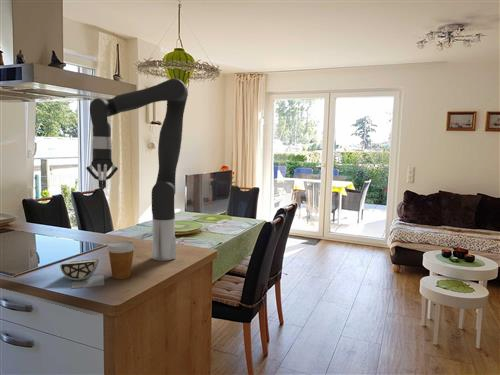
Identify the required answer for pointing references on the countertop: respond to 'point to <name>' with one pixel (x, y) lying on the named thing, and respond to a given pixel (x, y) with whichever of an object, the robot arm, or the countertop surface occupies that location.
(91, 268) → the food container
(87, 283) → the mat
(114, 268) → the disposable coffee cup
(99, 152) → the robot arm
